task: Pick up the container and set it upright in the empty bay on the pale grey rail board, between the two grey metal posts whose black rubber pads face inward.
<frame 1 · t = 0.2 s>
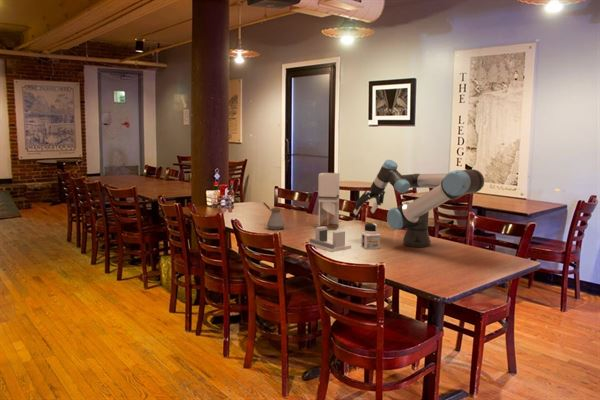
hand: (363, 212, 304), 15 cm above the table, tool tilted 35°, fingers open, 13 cm apart
rail board: (329, 246, 286), on the table
container: (370, 247, 285), on the table
grey dispenser tower: (328, 228, 336), on the table
coffee pot: (271, 227, 337), on the table
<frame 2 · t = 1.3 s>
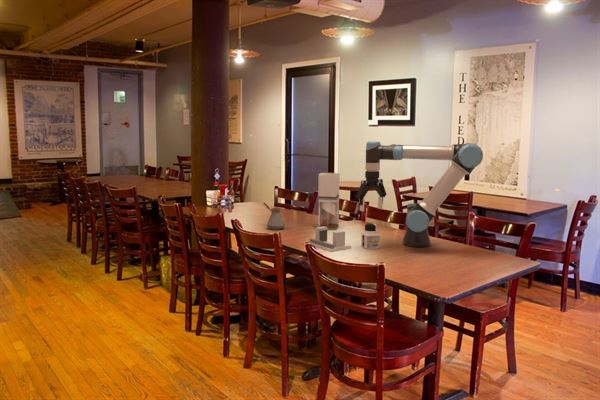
hand: (371, 210, 282), 20 cm above the table, tool pointing down, fingers open, 13 cm apart
nothing on the table moved.
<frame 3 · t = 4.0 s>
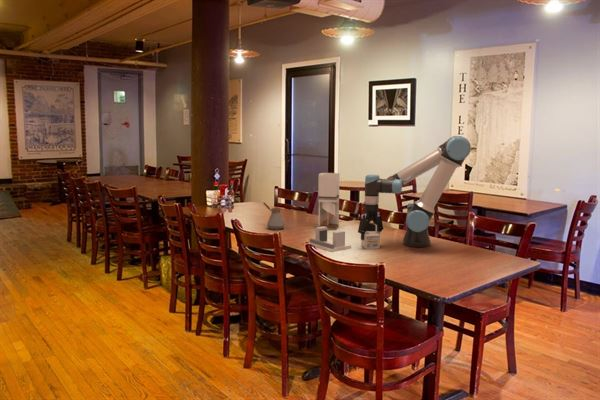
hand: (370, 244, 285), 2 cm above the table, tool pointing down, fingers closed on container, 9 cm apart
container: (370, 247, 285), on the table, touching gripper
everything else where it was.
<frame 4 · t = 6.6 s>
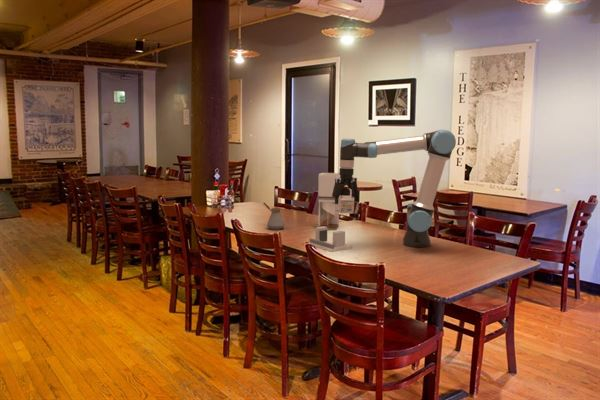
hand: (344, 209, 283), 21 cm above the table, tool pointing down, fingers closed on container, 9 cm apart
container: (344, 212, 283), point 19 cm above the table, touching gripper
everything else where it was.
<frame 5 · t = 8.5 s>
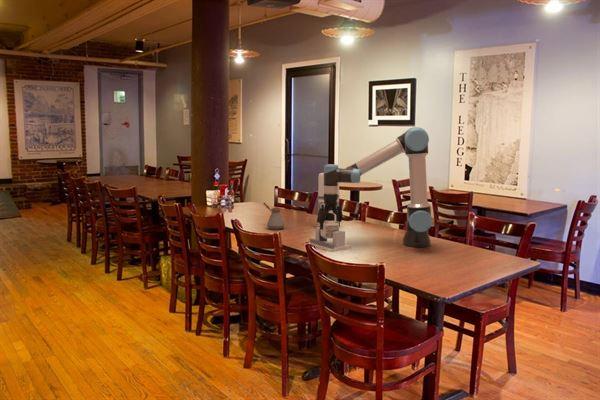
hand: (329, 234, 285), 7 cm above the table, tool pointing down, fingers closed on container, 9 cm apart
container: (329, 237, 285), point 5 cm above the table, touching gripper
everything else where it was.
when the fingers open (5 cm above the table, at t = 9.7 s): container drops 2 cm, resting on rail board.
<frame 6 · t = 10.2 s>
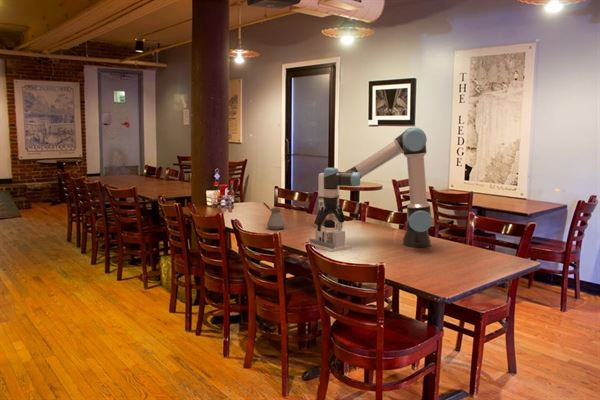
hand: (329, 235, 285), 6 cm above the table, tool pointing down, fingers open, 13 cm apart
container: (330, 244, 286), point 1 cm above the table, touching rail board
everything else where it was.
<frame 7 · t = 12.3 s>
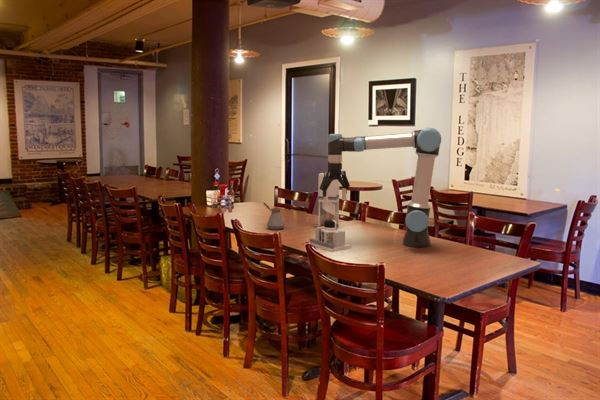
hand: (335, 201, 287), 24 cm above the table, tool pointing down, fingers open, 13 cm apart
nothing on the table moved.
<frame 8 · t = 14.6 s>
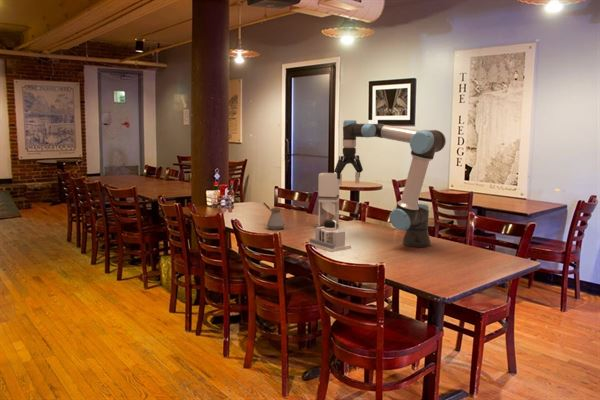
hand: (348, 184, 304), 32 cm above the table, tool pointing down, fingers open, 13 cm apart
nothing on the table moved.
at the end: container 0.1 cm off-centre on the rail board, point 1.3 cm above the rail board's base; container tilted 0°; the gripper is holding nothing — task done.
